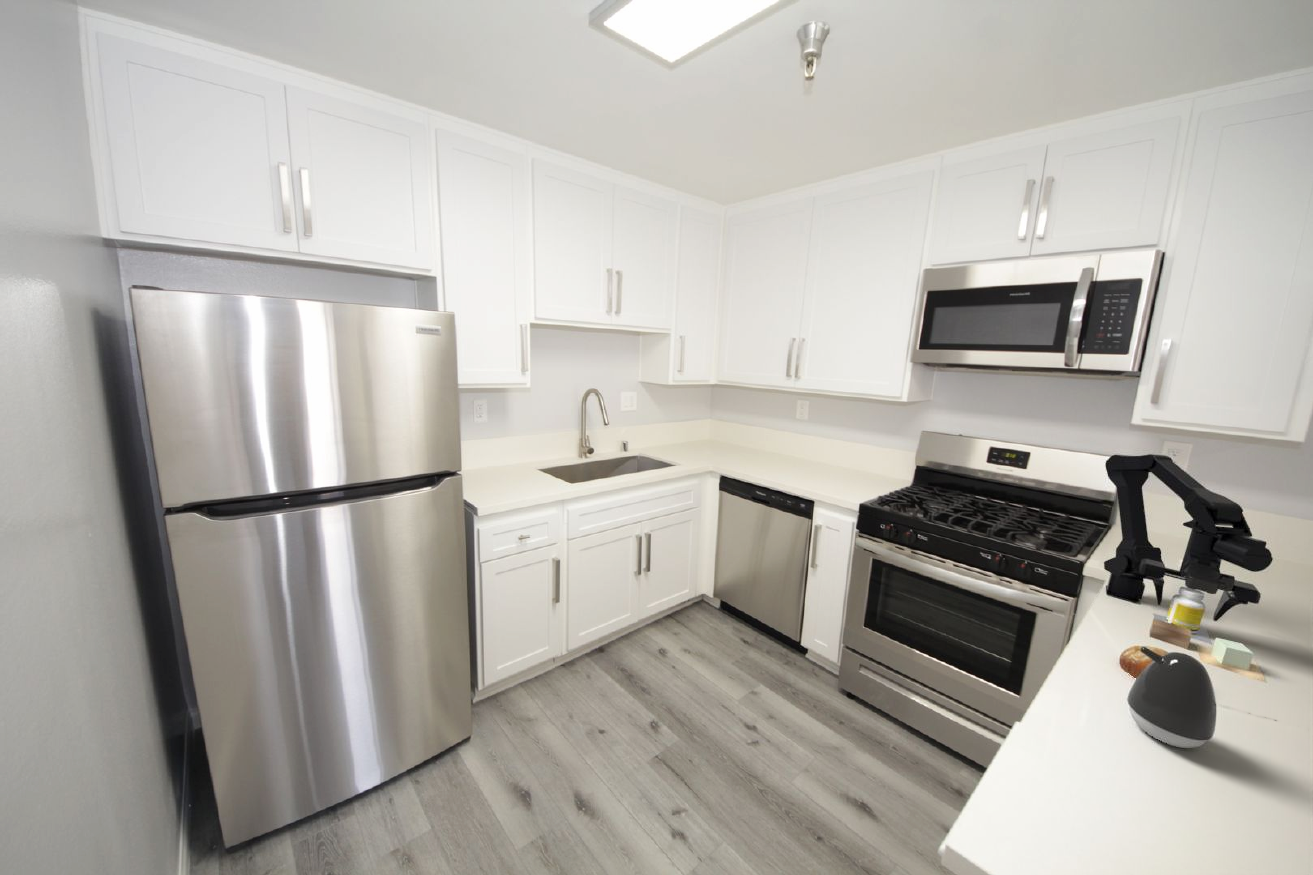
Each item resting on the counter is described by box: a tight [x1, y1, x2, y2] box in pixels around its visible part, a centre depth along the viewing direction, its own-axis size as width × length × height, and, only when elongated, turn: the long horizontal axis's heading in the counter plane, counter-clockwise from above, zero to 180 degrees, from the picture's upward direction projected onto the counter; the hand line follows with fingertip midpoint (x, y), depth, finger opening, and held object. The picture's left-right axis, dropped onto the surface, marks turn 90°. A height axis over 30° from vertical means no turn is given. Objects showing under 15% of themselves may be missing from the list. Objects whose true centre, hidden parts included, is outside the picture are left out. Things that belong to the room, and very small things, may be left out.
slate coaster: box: [1152, 613, 1213, 645], centre depth 116 cm, size 9×9×1 cm
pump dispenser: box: [1126, 647, 1218, 749], centre depth 81 cm, size 10×10×15 cm
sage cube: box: [1211, 637, 1254, 670], centre depth 103 cm, size 4×4×4 cm
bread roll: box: [1119, 645, 1170, 679], centre depth 97 cm, size 10×10×8 cm
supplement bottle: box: [1165, 586, 1206, 633], centre depth 115 cm, size 5×5×10 cm
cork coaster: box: [1194, 643, 1268, 683], centre depth 104 cm, size 9×9×1 cm
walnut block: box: [1149, 617, 1192, 650], centre depth 111 cm, size 6×4×4 cm, turn 43°
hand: (1186, 612), depth 115 cm, fingers open, 9 cm apart
